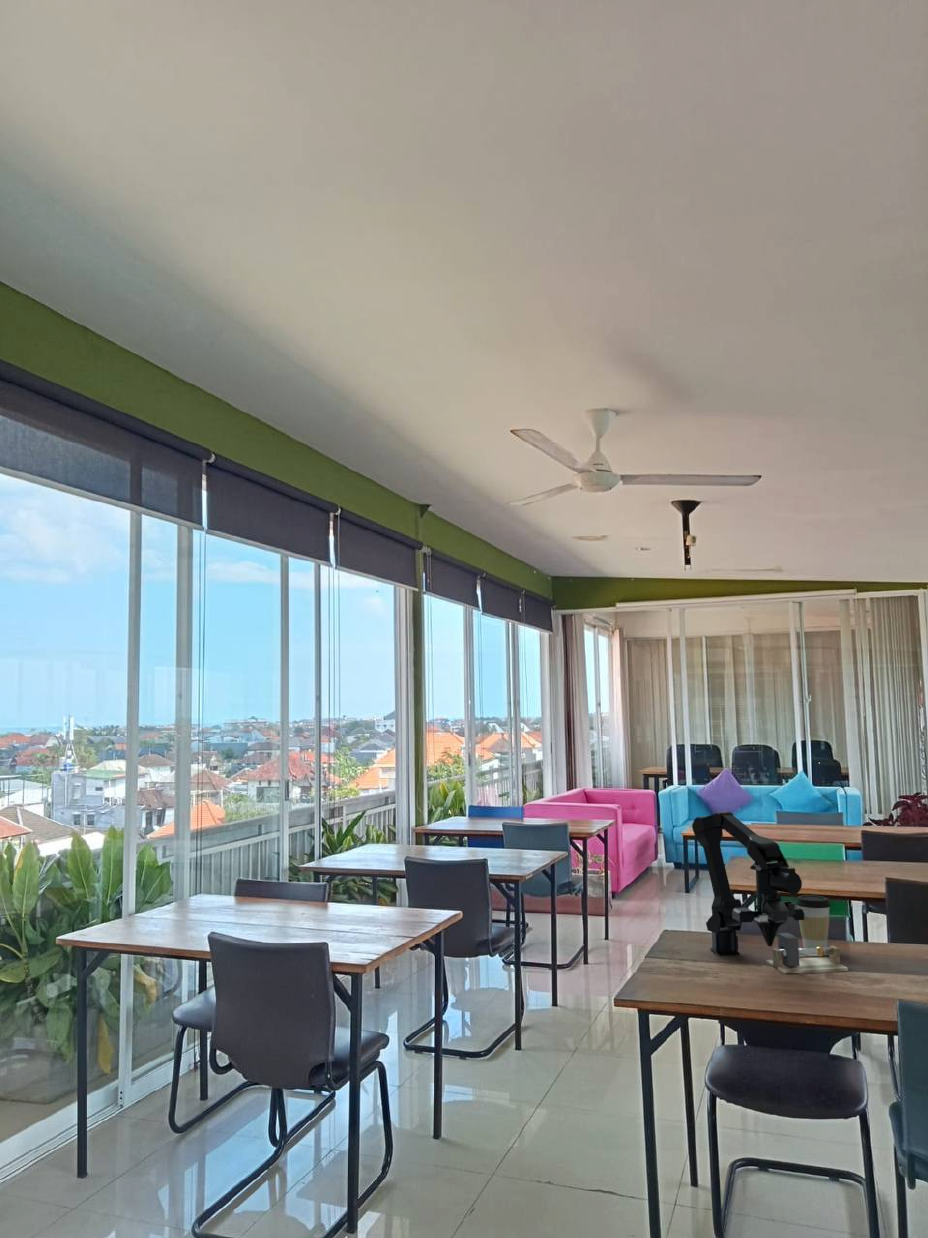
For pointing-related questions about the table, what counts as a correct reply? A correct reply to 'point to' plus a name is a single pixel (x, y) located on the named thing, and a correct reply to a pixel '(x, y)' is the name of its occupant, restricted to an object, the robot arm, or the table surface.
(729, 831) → the robot arm
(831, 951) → the rod
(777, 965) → the stand
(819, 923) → the coffee cup
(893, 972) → the table surface
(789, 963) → the collar
